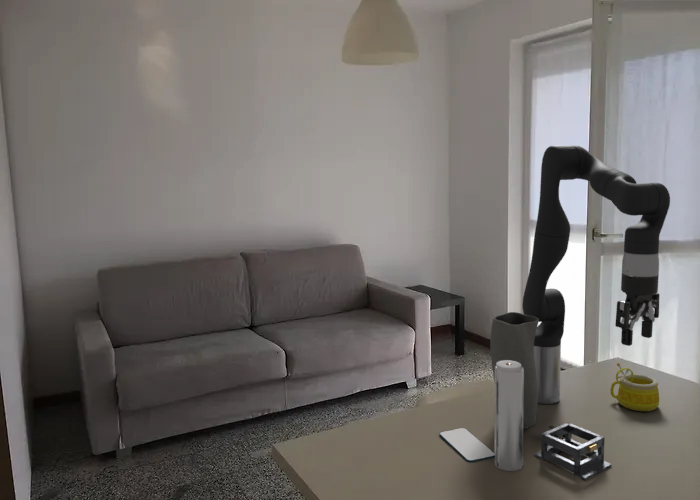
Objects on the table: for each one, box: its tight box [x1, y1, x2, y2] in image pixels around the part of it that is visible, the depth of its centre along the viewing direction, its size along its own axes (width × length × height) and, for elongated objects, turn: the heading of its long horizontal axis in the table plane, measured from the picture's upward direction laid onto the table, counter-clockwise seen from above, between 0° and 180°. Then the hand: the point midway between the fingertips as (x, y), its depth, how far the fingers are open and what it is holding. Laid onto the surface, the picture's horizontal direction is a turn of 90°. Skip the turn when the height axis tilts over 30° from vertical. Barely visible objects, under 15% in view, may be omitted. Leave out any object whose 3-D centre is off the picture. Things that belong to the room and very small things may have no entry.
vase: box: [489, 311, 540, 430], centre depth 159 cm, size 12×12×30 cm
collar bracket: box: [533, 422, 613, 481], centre depth 141 cm, size 14×10×6 cm
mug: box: [609, 362, 660, 412], centre depth 170 cm, size 13×11×12 cm
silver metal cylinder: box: [494, 360, 524, 472], centre depth 139 cm, size 6×6×25 cm
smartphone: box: [439, 427, 495, 463], centre depth 151 cm, size 8×1×16 cm
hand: (636, 340), depth 137 cm, fingers open, 8 cm apart
